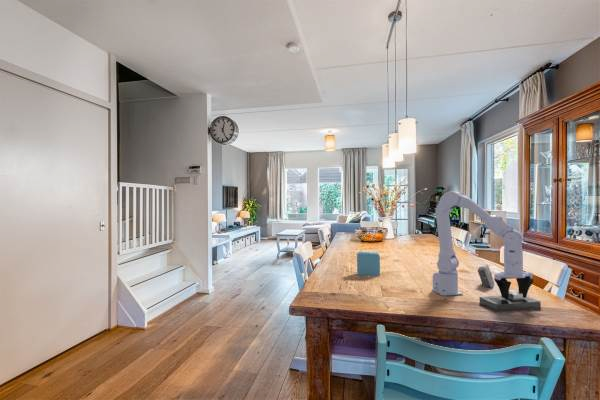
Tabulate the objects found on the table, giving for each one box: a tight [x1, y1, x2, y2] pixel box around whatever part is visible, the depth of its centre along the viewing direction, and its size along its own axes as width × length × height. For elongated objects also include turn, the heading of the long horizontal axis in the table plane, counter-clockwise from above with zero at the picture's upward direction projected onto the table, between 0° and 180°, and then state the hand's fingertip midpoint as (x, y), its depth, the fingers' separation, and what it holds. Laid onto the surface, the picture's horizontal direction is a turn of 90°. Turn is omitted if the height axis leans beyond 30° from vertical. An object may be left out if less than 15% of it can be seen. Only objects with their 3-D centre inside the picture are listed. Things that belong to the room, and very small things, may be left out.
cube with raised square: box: [508, 290, 523, 302], centre depth 105 cm, size 4×4×5 cm
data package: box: [356, 251, 381, 277], centre depth 152 cm, size 12×4×12 cm, turn 77°
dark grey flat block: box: [479, 295, 542, 312], centre depth 105 cm, size 18×8×3 cm, turn 98°
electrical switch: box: [477, 263, 495, 289], centre depth 131 cm, size 9×5×9 cm, turn 141°
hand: (513, 297), depth 105 cm, fingers open, 7 cm apart
